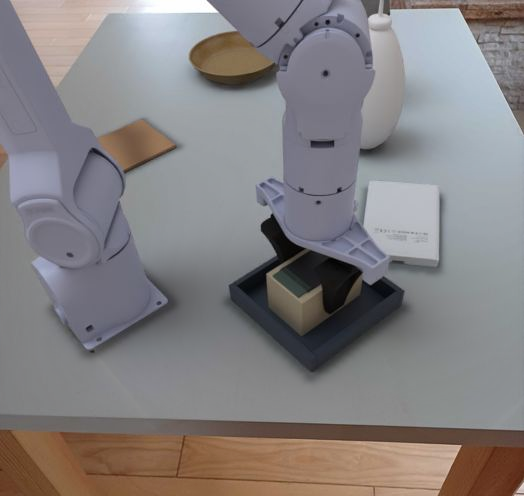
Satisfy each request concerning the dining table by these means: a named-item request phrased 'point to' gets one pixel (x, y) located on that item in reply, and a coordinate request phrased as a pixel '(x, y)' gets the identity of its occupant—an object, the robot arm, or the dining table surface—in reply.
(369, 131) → the sauce bottle
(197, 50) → the plant saucer
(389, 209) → the hard drive
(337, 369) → the dining table surface
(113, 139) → the coaster
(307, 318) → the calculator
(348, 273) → the robot arm
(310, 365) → the tray
